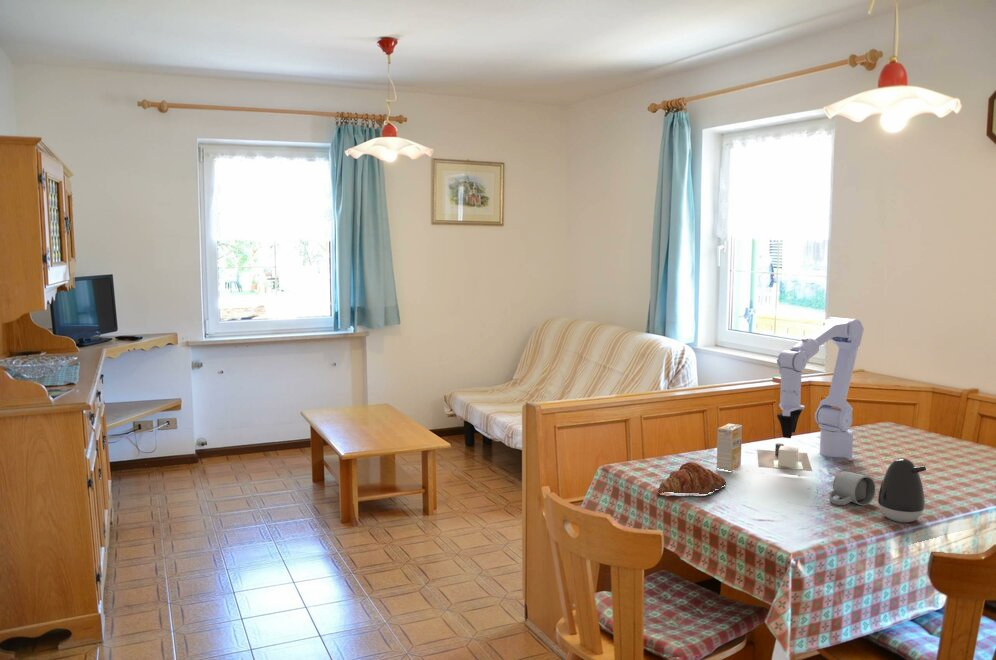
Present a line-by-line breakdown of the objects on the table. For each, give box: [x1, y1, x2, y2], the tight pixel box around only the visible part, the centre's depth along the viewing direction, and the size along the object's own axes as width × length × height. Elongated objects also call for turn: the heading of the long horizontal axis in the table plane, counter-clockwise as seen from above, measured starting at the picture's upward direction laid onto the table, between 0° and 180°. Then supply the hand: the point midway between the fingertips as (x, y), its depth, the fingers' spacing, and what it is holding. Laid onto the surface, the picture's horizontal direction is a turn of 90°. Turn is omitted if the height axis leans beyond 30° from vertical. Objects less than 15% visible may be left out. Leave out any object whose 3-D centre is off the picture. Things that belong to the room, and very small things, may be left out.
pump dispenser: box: [877, 457, 927, 523], centre depth 190 cm, size 10×10×15 cm
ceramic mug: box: [828, 471, 876, 506], centre depth 204 cm, size 11×8×8 cm
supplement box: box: [716, 423, 743, 471], centre depth 233 cm, size 8×5×13 cm, turn 143°
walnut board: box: [756, 442, 813, 472], centre depth 240 cm, size 15×20×4 cm
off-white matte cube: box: [778, 445, 799, 468], centre depth 234 cm, size 5×5×5 cm
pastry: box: [657, 461, 727, 494], centre depth 213 cm, size 17×15×8 cm
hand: (789, 434), depth 235 cm, fingers open, 7 cm apart
